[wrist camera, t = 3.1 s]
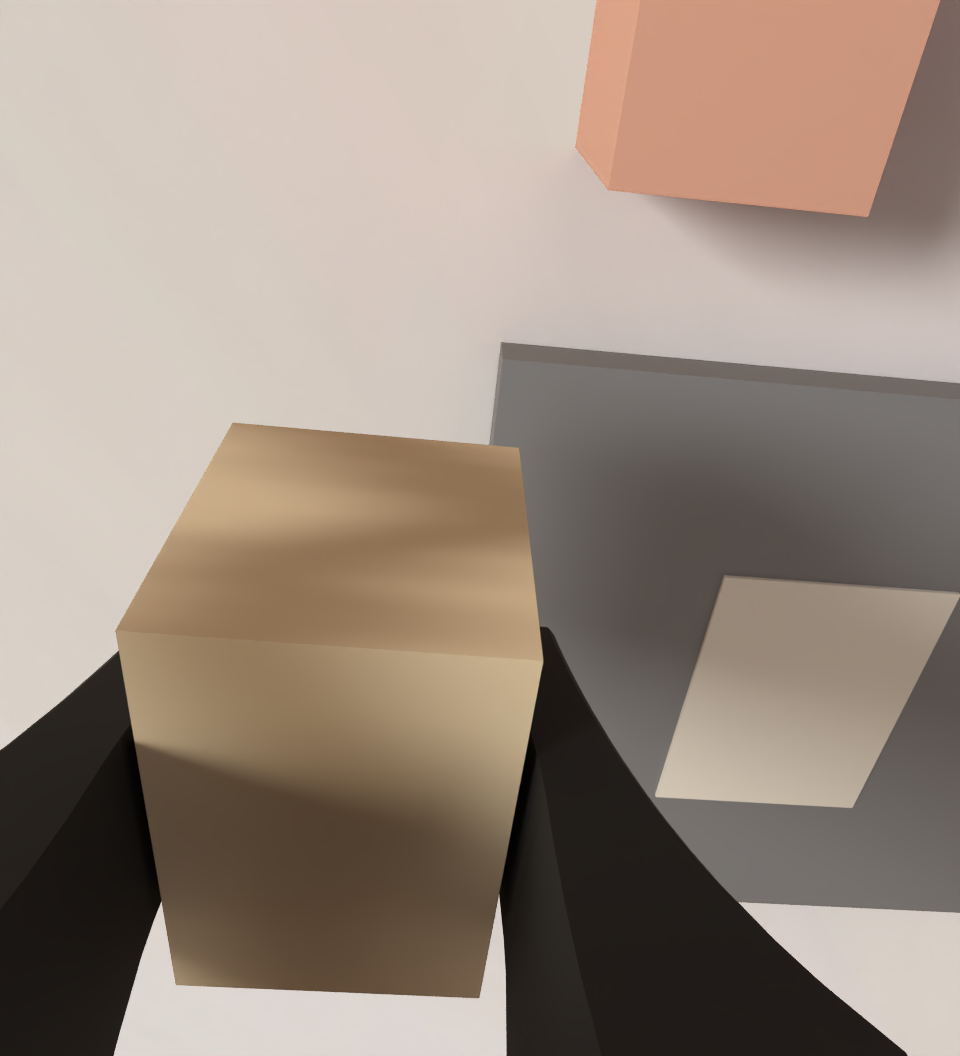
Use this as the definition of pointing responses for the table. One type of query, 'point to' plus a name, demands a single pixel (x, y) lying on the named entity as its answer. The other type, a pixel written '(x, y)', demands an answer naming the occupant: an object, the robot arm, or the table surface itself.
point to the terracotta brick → (750, 98)
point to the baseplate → (758, 606)
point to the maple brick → (336, 710)
